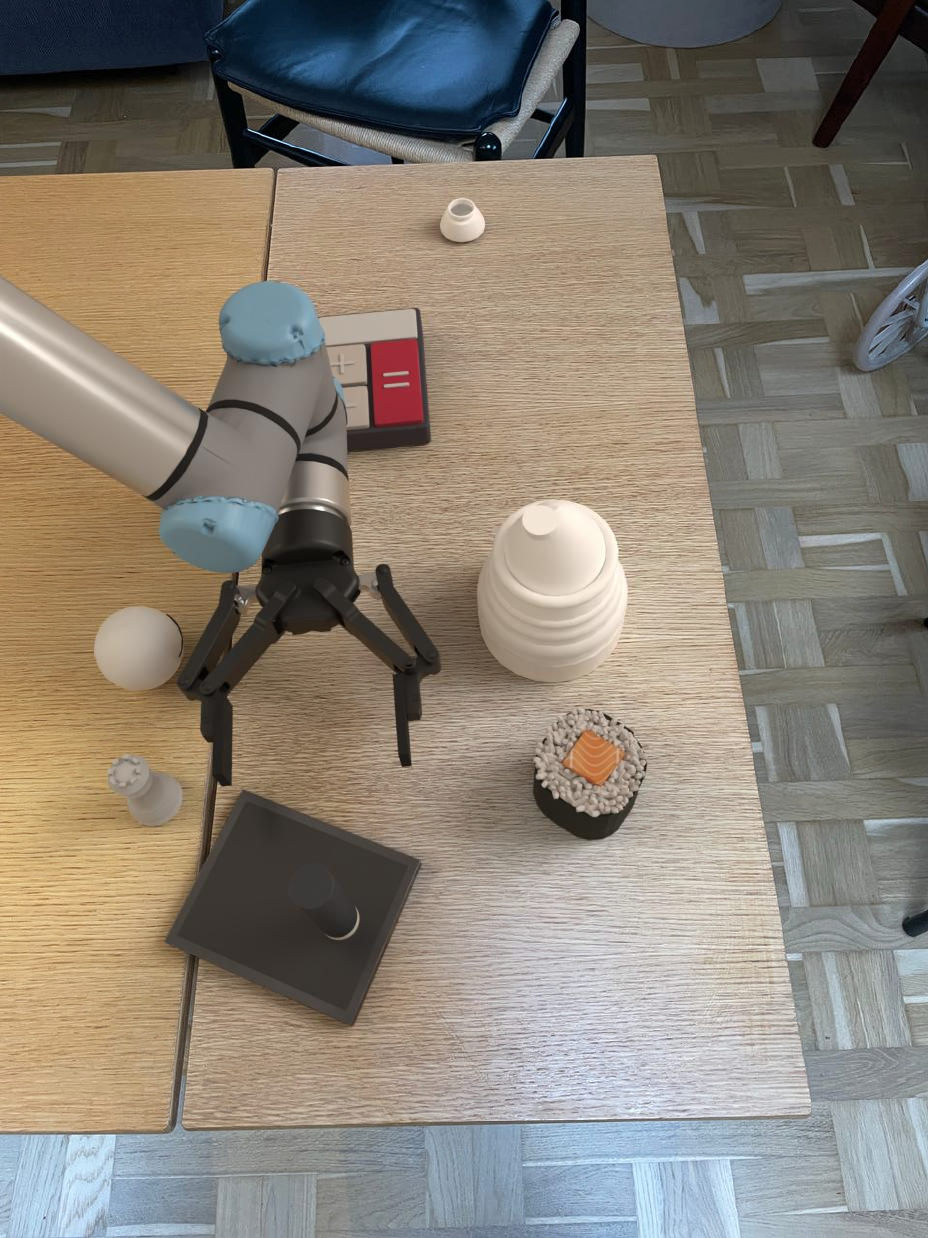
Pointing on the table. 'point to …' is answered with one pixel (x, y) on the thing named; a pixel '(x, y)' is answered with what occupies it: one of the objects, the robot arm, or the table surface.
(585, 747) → the sushi
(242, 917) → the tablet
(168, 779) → the rook chess piece
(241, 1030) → the table surface
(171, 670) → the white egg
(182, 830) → the table surface
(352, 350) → the calculator
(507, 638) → the honey pot
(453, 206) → the lidless jar
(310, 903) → the marker
